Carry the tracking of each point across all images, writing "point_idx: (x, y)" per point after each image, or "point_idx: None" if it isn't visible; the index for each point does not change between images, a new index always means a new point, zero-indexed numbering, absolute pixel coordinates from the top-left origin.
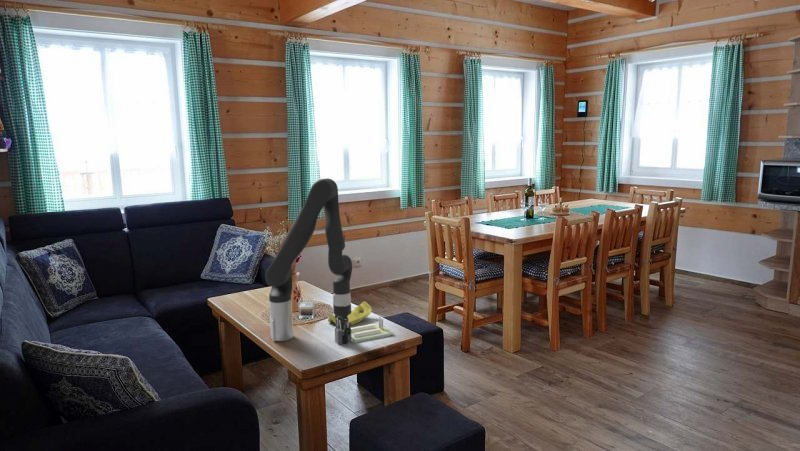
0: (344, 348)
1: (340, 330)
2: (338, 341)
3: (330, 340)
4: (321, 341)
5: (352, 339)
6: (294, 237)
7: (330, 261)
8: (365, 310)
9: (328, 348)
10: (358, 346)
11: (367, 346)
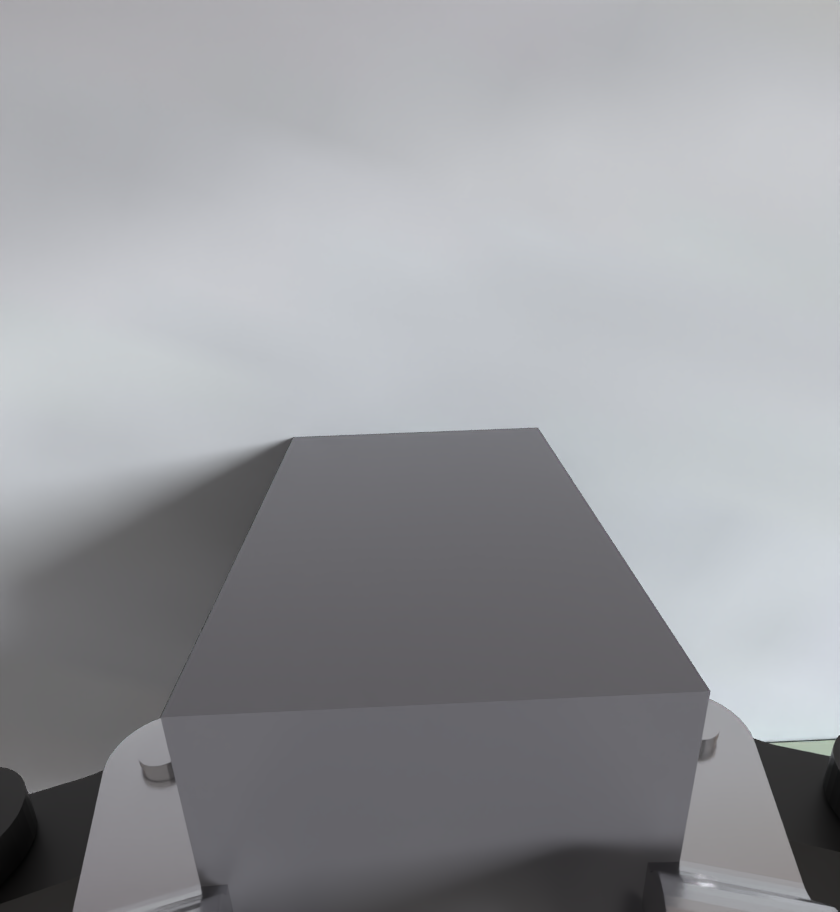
0: (14, 507)
1: (237, 845)
2: (280, 484)
3: (681, 342)
4: (769, 61)
5: None
6: None
7: None
8: None
9: (130, 102)
10: (56, 771)
11: None
